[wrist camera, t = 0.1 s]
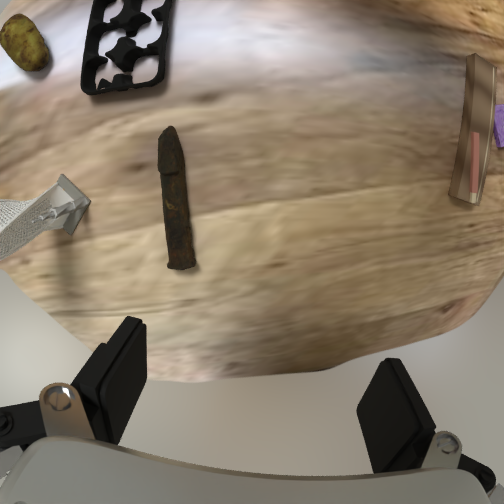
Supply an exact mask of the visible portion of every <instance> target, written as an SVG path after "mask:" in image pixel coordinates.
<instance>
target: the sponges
mask: <svg viewBox="0 0 504 504" xmlns="http://www.w3.org/2000/svg"><path fill="white" fill-rule="evenodd" d="M493 130H494V136H495V141H496V145H497V147H504V104H502V105H495V117H494V126H493Z"/></svg>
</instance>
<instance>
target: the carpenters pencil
mask: <svg viewBox="0 0 504 504" xmlns="http://www.w3.org/2000/svg"><path fill="white" fill-rule="evenodd" d="M478 176H479V133H476V132H471V171H470V188H469V192H470V199H469V202H471V203H476V193H477V192H478Z"/></svg>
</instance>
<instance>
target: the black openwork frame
mask: <svg viewBox="0 0 504 504" xmlns="http://www.w3.org/2000/svg"><path fill="white" fill-rule="evenodd" d="M115 1H116V0H94V1H93V5H92V9H91V14H90V19H89V24H88V30H87V36H86V41H85V48H84V54H83V63H82V71H81V89H82V91H83V92H84V93H86V94H87V95H97V94H101V93H106V92H110V91H125V90H128V89H130V88H135V89H137V88H142V87H152V86H155V85H157V84H158V83H160V82H161V81H162V80H163V79H164V74H165V47H166V42H167V38H168V30H169V28H168V18H169V11H170V9H171V5H172V0H165V2H164V4H163V5H162V6H161V7H159V8H156V9H153V10H152V12H151V13H152V14H153V16H154V17H155V19H156V21H163V26H162V32H161V35H160V37H159V38H158V40H156V41H155V42H153V43H151V44H148V45H147V48H141V47H138V46H136V42H135V41H134V40H132V39H130V38H129V37H134V36H136V34H137V31H138V29H139V28H140V27H141V26H142V25H143V24H146V23H149V22H151V20H152V19H151V18H150V17H149V16H147V15H146V14H145V13H143V12H140V10H141V4H142V0H124V5H123V9H122V11H121V12H120V13H119V14H118V15H117V16H116V17H114V18H112V19H110V23H105V22H103V17H104V11H105V8H106V7H107V5H108V4H110V3H112V2H115ZM120 28H123V29H124V30H125V31H126V36H125V37H121V38H119V39H118V41H117V44H116V45H115V47H114V48H113V49H112V50H110V51H108V52H106V53H105V56H106V57H108V58H109V59H111V60H112V61H115V65H116V66H117V67H118V68H120V69H121V70H122V71H123V72H132V71H133V67H134V63H135V62H136V60H137V59H139V58H140V57H144V56H149V55H159V65H158V72H157V75H156V76H155V78H153V79H152V80H150V81H148V82H143V83H137V84H133V82H132V76H131V75H125V74H116V75H114V77H113V81H112V83H111V82H109V81H107V80H105V79H103V78H102V79H101V80H100V82H99V85H98V88H97V89H96V83H95V77H96V71H97V69H98V67H99V66H100V65H102V64H105V63H107V62H108V58H106V57H103V56H99V54H98V49H99V42H100V38H101V36H102V35H103V34H104V33H105V32H107V31H111V30H115V29H120ZM102 88H104V89H102Z"/></svg>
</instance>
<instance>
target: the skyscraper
mask: <svg viewBox="0 0 504 504" xmlns="http://www.w3.org/2000/svg"><path fill="white" fill-rule="evenodd" d="M90 202H91V200H90V199H89V198H88V197H87V196H85V195H84V194H83V193H82V192H81V191H80V190H79V189H78V188H77V187H76V186H75V185H74V184H73V183H72V182H71V181H70V180H69V179H68V178H67V177H66V176H65V175H64V174H61V175H60V177H59V179H58V181H57V182H56V183H55V184H54V185H52V186H51V187H50V188H48V189H47V190H46V191H45V192H43V193H42V194H41V195H40V196H38V197H37V198H34V199H32V200H28V201H17V200H8V199H0V261H1V260H3V259H5V258H6V257H8V256H10V255H11V254H13V253H14V252H16V251H17V250H19V249H20V248H22V247H23V246H25V245H26V244H28V243H29V242H30V241H32V240H33V239H34V238H36V237H37V236H38V235H39V234H41V233H42V232H43V231H48V230H54V229H61V228H63V229H64V230H65V231H66V232H67V233H68V234H69V235H72V233H73V232H74V230H75V228H76V226H77V224H78V222H79V221H80V219H81V217H82V215H83V214H84V212H85V210H86V208H87V207H88V205H89V203H90Z"/></svg>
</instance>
